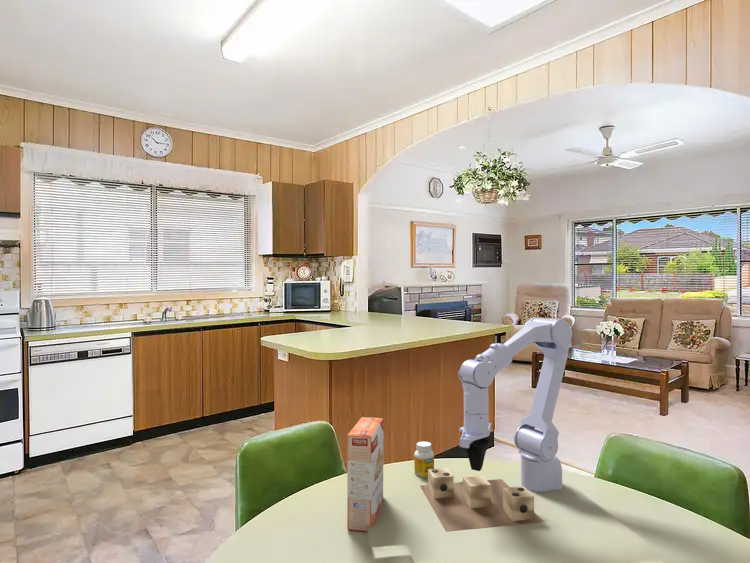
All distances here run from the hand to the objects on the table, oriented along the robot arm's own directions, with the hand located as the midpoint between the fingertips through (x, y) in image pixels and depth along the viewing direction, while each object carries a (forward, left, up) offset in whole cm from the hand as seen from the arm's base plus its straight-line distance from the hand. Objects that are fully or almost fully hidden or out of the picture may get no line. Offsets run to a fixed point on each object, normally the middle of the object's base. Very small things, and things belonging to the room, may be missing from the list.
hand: (476, 469), depth 111 cm
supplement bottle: (+8, -18, -10) cm, 22 cm away
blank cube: (0, 0, -8) cm, 8 cm away
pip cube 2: (-7, +7, -8) cm, 13 cm away
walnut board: (0, 0, -9) cm, 9 cm away
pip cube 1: (+7, -6, -8) cm, 12 cm away
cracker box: (+26, -1, -10) cm, 28 cm away
